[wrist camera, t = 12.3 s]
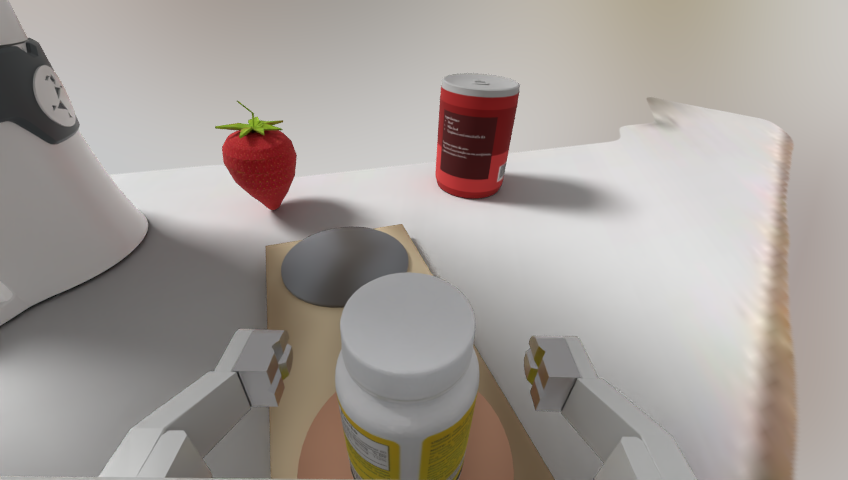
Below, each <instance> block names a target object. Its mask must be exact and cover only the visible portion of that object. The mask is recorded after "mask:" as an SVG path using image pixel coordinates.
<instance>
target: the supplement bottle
mask: <svg viewBox="0 0 848 480" xmlns="http://www.w3.org/2000/svg"><path fill="white" fill-rule="evenodd" d="M475 328H476V324H475V316H474V312H473V309H472V307H471V305H470V303H469V301H468V300H467V298H466V297H465V296H464V294H463V293H462V292H461V291H459V290H458V289H457V288H456V287H455V286H453V285H451V284H450V283H448V282H446V281H444V280H442V279H440V278H438V277H435V276H431V275H427V274H422V273H411V272H405V273H395V274H389V275H385V276H382V277H379V278H377V279H374V280H372V281H370V282H368V283H367V284H365V285H363V286H362V287H360V288H359V289H358V290H357V291H356V292H355V293H354V294H353V295H352V296H351V297H350V298H349V300H348V301H347V303H346V305H345V307H344V309H343V311H342V315H341V320H340V333H341V343H342V345H341V348H342V349H341V351H340V354H339V356H338V359H337V364H336V369H335V387H336V393H337V399H338V404H339V409H340V414H341V420H342V425H343V431H344V436H345V441H346V447H347V452H348V457H349V462H350V468H351V472H352V476H353V478H354V479H366V480H459V477H460V474H461V471H462V467H463V462H464V458H465V452H466V447H467V443H468V438H469V433H470V428H471V423H472V418H473V413H474V408H475V403H476V398H477V393H478V388H479V378H480V375H479V363H478V359H477V356H476V353H475V350H474V348H473V344H474V337H475Z"/></svg>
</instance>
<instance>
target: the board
mask: <svg viewBox="0 0 848 480" xmlns="http://www.w3.org/2000/svg"><path fill="white" fill-rule="evenodd" d="M405 272H411V273H422V274H427V275H431V276H433V275H432V273H431V272H430V270H429V268H428V267H427V265H426V263H425V262H424V260H423V258H422V257H421V255H420V253H419V252H418V250H417V248H416V247H415V245H414V243H413V242H412V240H411V238H410V237H409V235H408V233H407V232H406V230H405V228H404V226H403V225H402V224H399V225H393V226H387V227H381V228H374V229H370V228H364V227H341V228H334V229H329V230H325V231H322V232H319V233H316V234H314V235H311V236H309V237H307V238H305V239H303V240H299V241H293V242H287V243H281V244H274V245H268V246H266V286H267V330H285V331H288V334H289V340H288V344H289V345H290V346H292V350H293V362H292V368H291V371H290V374H289V376H288V377H286V378H285V379H284V380H283V383H284V386H285V389H284V391H283V394H282V397H281V400H280V403H279V406H278V407H269V422H270V467H271V479H354V478H353V476H352V472H351V468H350V462H349V457H348V452H347V447H346V441H345V436H344V431H343V425H342V420H341V414H340V409H339V404H338V399H337V393H336V387H335V369H336V364H337V359H338V356H339V354H340V351H341V349H342V348H341V345H342V343H341V333H340V320H341V315H342V311H343V309H344V307H345V305H346V303H347V301H348V300H349V298H350V297H351V296H352V295H353V294H354V293H355V292H356V291H357V290H358V289H359V288H360V287H362V286H363V285H365V284H367V283H368V282H370V281H372V280H374V279H377V278H379V277H382V276H385V275H389V274H395V273H405ZM473 348H474V350H475V353H476V356H477V359H478V363H479V375H480V378H479V388H478V393H477V398H476V403H475V408H474V413H473V418H472V423H471V428H470V433H469V438H468V443H467V447H466V452H465V458H464V462H463V467H462V471H461V474H460V477H459V480H555V479H554V478H553V476H552V474H551V473H550V471H549V469H548V468H547V466H546V464H545V463H544V461H543V459H542V457H541V456H540V454H539V452H538V451H537V449H536V447H535V446H534V444H533V442H532V441H531V439H530V437H529V436H528V434H527V432H526V431H525V429H524V427H523V426H522V424H521V422H520V421H519V419H518V417H517V416H516V414H515V412H514V411H513V409H512V407H511V406H510V404H509V402H508V401H507V399H506V397H505V396H504V394H503V392H502V391H501V389H500V387H499V386H498V384H497V382H496V380H495V379H494V377H493V375H492V374H491V372H490V370H489V369H488V367H487V365H486V364H485V362H484V360H483V359H482V357H481V355H480V354H479V352H478V350H477V349H476V347H475V345H474V344H473Z"/></svg>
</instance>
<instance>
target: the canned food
mask: <svg viewBox="0 0 848 480" xmlns="http://www.w3.org/2000/svg"><path fill="white" fill-rule="evenodd" d="M519 87H520V85H519V83H518V82H516V81H514V80H512V79H509V78H505V77H501V76H495V75H487V74H472V73H468V74H467V73H464V74H453V75H448V76H446V77H444V78H443V79H442V85H441V96H440V111H439V127H438V144H437V160H436V179H437V183H438V185H439V187H440V188H441V189H442V190H444V191H445V192H447V193H449V194H451V195H454V196H458V197H462V198H471V199H476V198H485V197H489V196H491V195H493V194H495V193H496V192H497V191H498V190H499V188H500V187H501V185H502V182H503V177H504V172H505V167H506V161H507V156H508V150H509V145H510V140H511V135H512V129H513V124H514V119H515V113H516V108H517V103H518V96H519Z"/></svg>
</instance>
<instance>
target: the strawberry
mask: <svg viewBox="0 0 848 480" xmlns="http://www.w3.org/2000/svg"><path fill="white" fill-rule="evenodd" d="M237 102H238V103H240V102H239V101H237ZM240 104H241V103H240ZM241 105H242V104H241ZM242 106H243V107H245V106H244V105H242ZM245 108H246V107H245ZM246 109H247V110H248V111H250V110H249V109H248V108H246ZM250 112H251V111H250ZM251 113H252V119H250V120H249V121H248V123H249V124H241V123H237V124H229V125H222V126H216V127H215V128H218V129H229V130H239V131H236V132H234V133H232V134H230V135H229V136H228V137H227V139H226V141H225V143H224V145H223V146H222V151H223V160H224V164H225V166H226V167H227V169H228V171H229V172H230V174H231V175H232V177H233V179H234V180H235V182H236V183H237V184H238V185H239V186H241V187H242V188H243V189H244V190H245V191H246V192H248V193H249V194H250V195H251V196H252V197H254V198H255V199H257V200H258V201H260V202H261V203H263V204H264V205H265V206H266V207H267V208H269V209H271V210H275V209H278V208H279V207H280V205H281V203H282V201H283V199H284V197H285V196H286V194H287V192H288V190H289V188H290V186H291V183H292V181H293V178H294V176H295V167H296V156H297V155H296V153H295V150H294V147H293V144H292V142H291V140H290V139H289V138H288V137H287V136H286V135H285V134H284V133H282V132H281V131H279V130H282V129H281V128H278V127H275V126H272V125H275V124H278V123H281V122H283V121H259V119H258V117H255V118H254V113H253V112H251Z"/></svg>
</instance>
